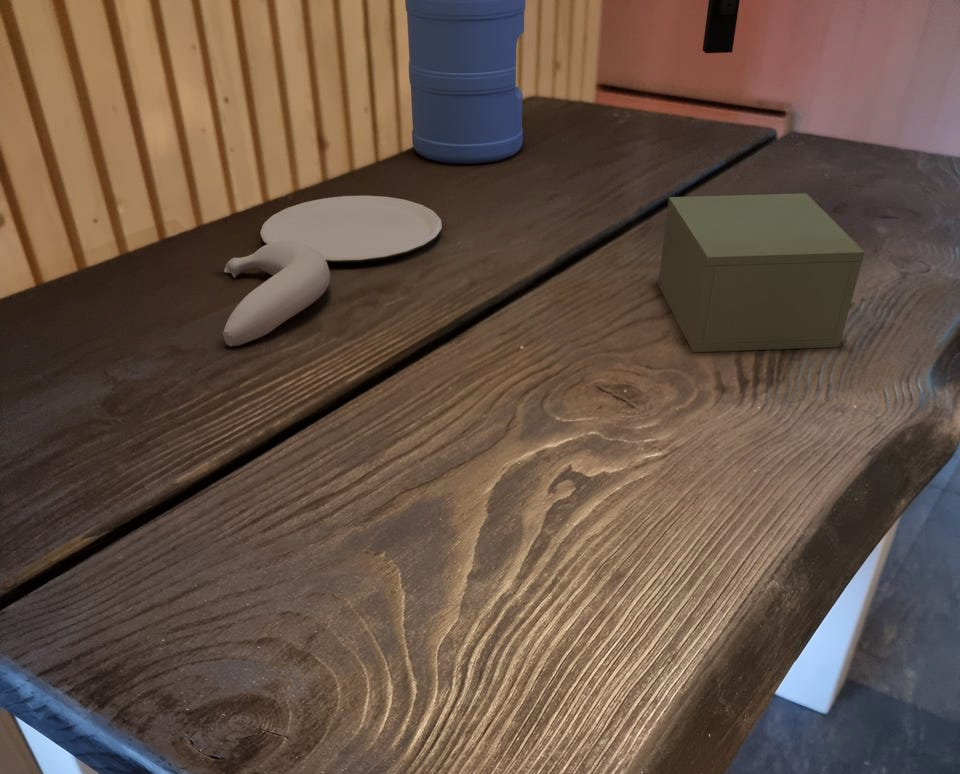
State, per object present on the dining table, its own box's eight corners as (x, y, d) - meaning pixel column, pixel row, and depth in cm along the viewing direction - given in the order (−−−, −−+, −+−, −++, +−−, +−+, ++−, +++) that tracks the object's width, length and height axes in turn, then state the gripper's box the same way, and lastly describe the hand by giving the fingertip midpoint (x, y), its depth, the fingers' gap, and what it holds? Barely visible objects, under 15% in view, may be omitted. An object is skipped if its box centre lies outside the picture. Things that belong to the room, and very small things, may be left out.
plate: (313, 198, 117) (311, 187, 116) (467, 215, 111) (467, 204, 110) (227, 256, 102) (224, 245, 101) (400, 279, 97) (399, 267, 96)
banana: (274, 355, 84) (137, 335, 88) (360, 286, 98) (239, 271, 101) (266, 302, 81) (124, 283, 84) (357, 238, 95) (231, 224, 98)
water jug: (463, 173, 123) (458, -93, 104) (390, 149, 132) (373, -101, 113) (545, 150, 131) (554, -102, 112) (471, 128, 140) (468, -109, 121)
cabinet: (657, 285, 95) (668, 197, 90) (787, 280, 96) (806, 193, 90) (692, 352, 84) (707, 256, 78) (839, 347, 84) (865, 251, 79)
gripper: (699, -267, 83) (667, 40, 99) (737, -276, 74) (695, 66, 90) (781, -269, 84) (736, 38, 99) (830, -278, 74) (772, 63, 90)
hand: (717, 51), depth 94 cm, fingers closed
